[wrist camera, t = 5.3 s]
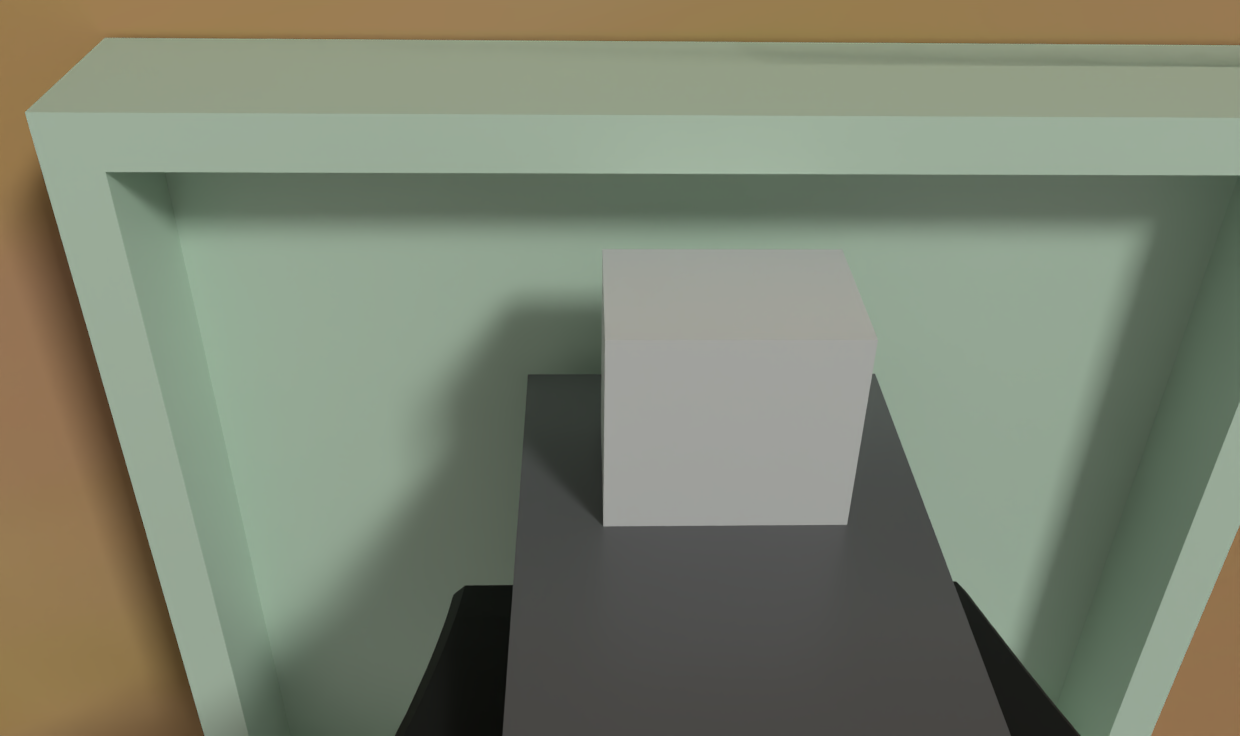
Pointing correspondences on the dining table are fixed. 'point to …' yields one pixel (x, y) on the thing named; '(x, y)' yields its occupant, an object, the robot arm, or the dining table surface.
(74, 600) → the dining table surface
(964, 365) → the tray
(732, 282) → the plug
